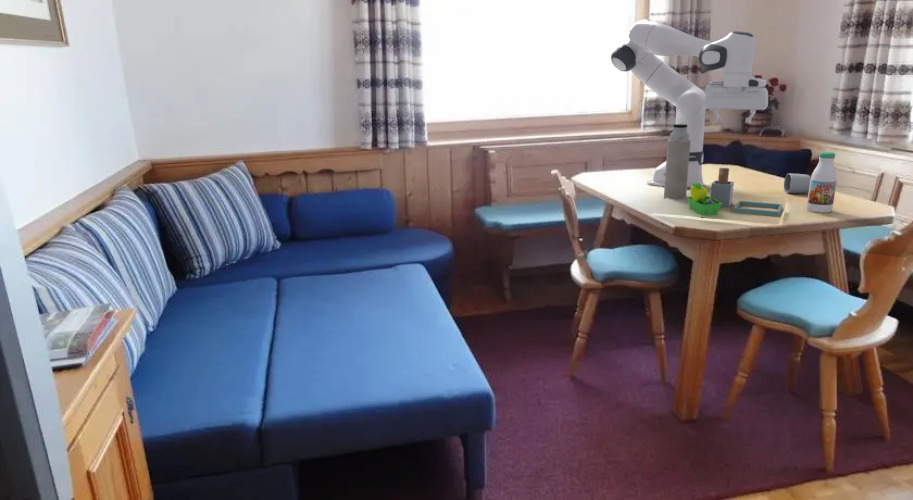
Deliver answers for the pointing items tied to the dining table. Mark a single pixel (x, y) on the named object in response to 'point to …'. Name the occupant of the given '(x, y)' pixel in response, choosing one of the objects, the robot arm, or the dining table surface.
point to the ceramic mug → (797, 183)
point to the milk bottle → (822, 184)
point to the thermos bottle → (677, 163)
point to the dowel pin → (723, 176)
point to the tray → (756, 211)
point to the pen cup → (722, 193)
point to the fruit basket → (702, 201)
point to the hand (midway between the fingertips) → (733, 122)
